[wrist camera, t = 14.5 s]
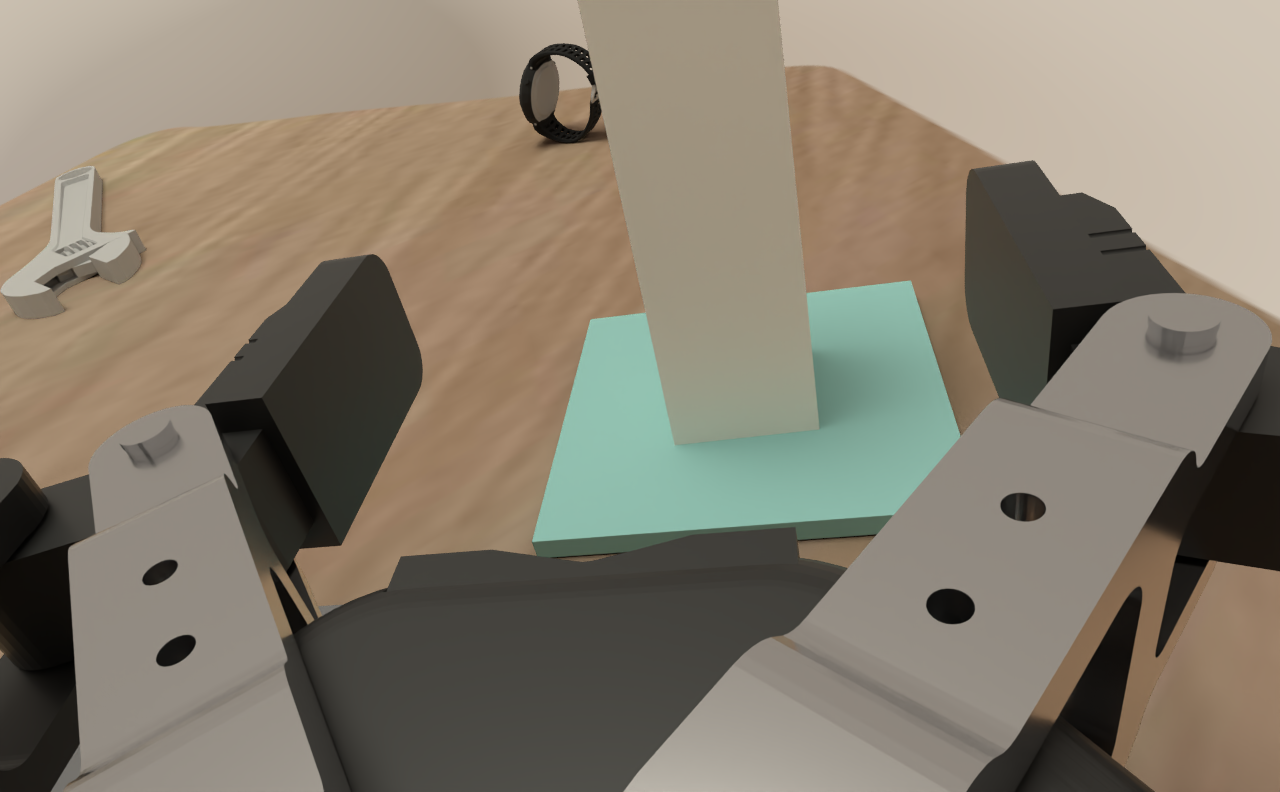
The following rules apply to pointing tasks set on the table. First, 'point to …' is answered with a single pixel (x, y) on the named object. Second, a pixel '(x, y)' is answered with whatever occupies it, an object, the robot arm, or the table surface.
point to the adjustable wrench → (73, 249)
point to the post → (710, 207)
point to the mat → (750, 438)
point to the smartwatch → (554, 92)
